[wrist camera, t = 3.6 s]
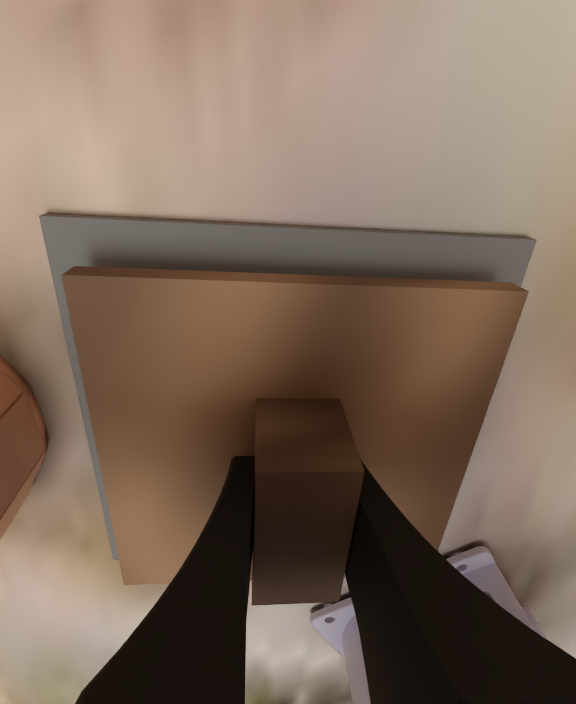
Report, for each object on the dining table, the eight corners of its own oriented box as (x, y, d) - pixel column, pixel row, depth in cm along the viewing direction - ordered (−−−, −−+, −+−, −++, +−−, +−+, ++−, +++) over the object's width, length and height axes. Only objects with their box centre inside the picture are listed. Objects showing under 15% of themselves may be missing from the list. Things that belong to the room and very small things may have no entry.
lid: (511, 282, 11) (619, 339, 8) (422, 556, 17) (463, 658, 14) (74, 266, 10) (-13, 324, 7) (130, 565, 16) (96, 679, 12)
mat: (528, 236, 12) (536, 239, 12) (427, 542, 19) (430, 550, 18) (46, 213, 11) (39, 215, 10) (116, 551, 17) (113, 559, 17)
